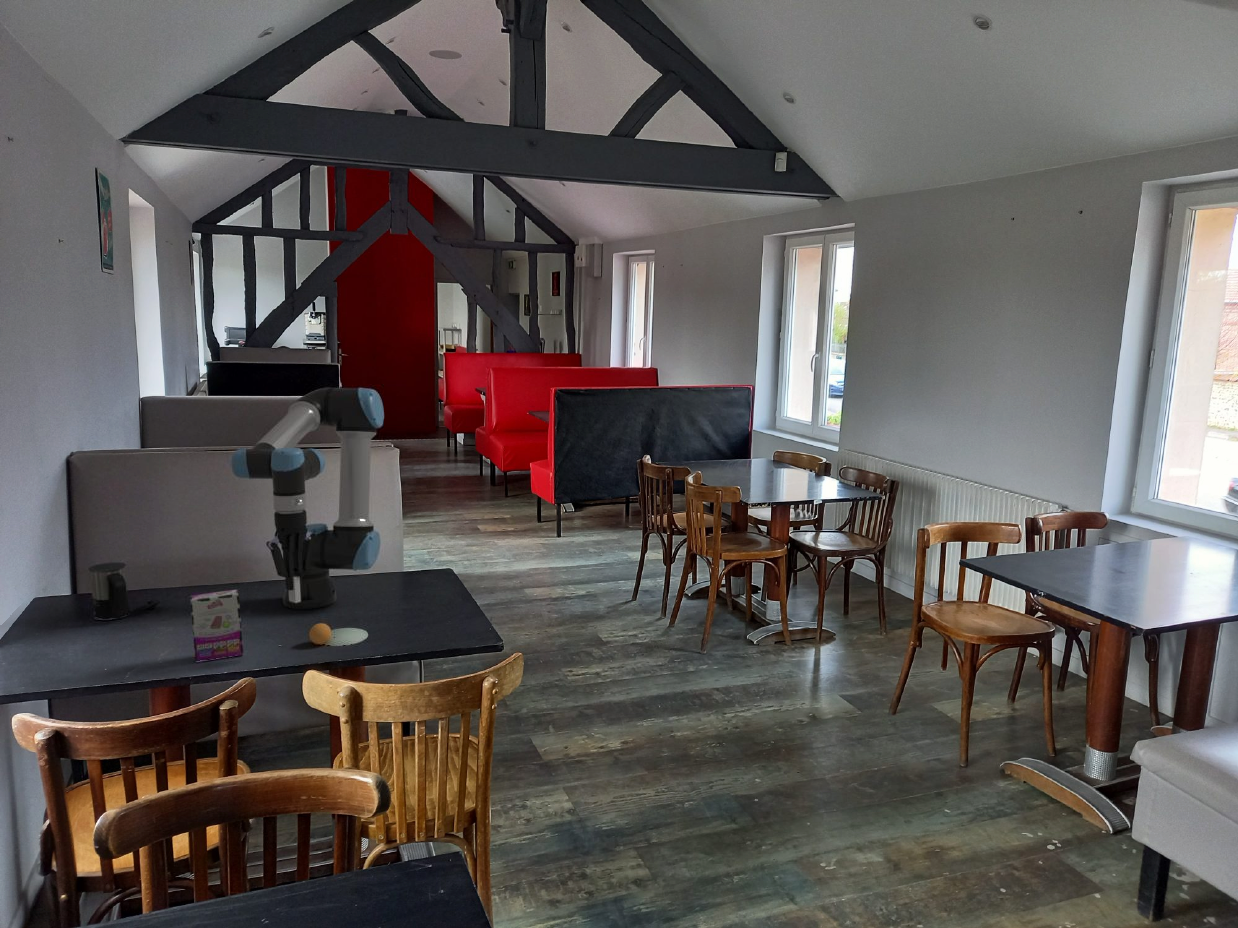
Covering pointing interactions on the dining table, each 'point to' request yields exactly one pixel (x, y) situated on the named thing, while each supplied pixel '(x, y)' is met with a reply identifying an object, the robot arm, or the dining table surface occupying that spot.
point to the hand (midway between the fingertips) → (294, 601)
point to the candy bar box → (216, 625)
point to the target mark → (346, 636)
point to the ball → (320, 633)
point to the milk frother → (111, 591)
